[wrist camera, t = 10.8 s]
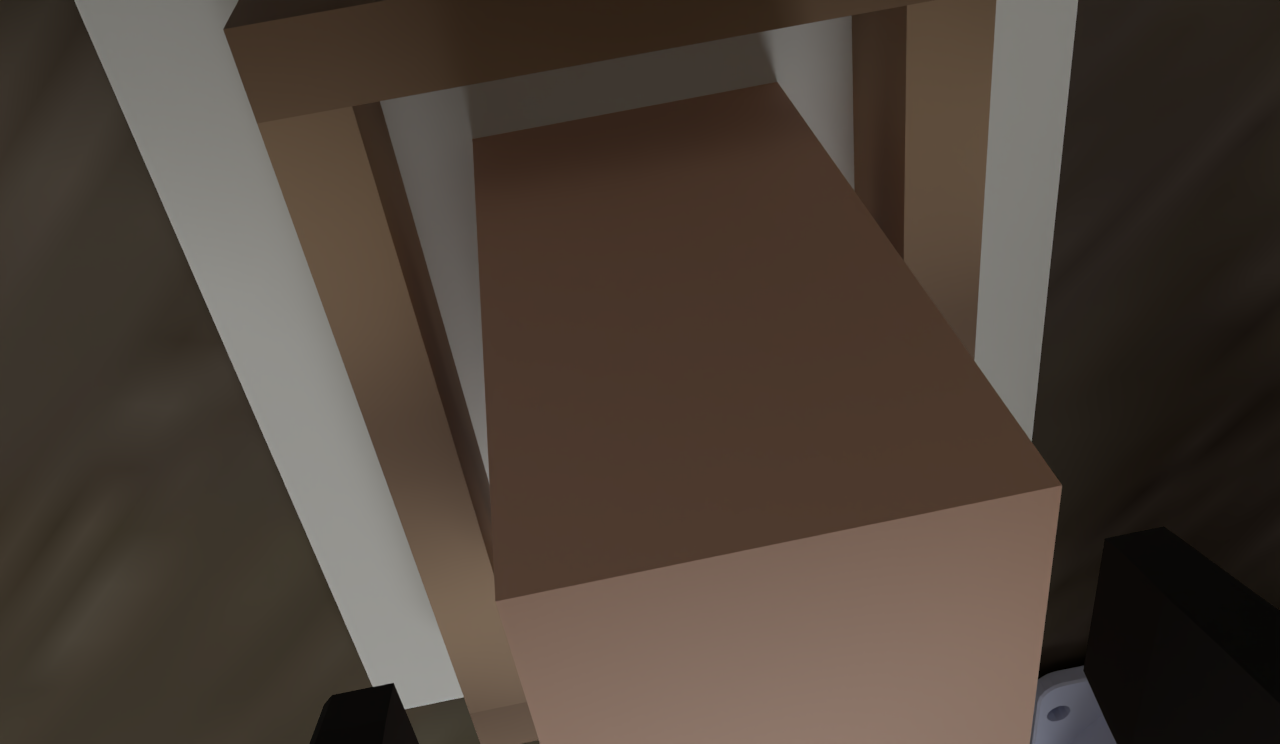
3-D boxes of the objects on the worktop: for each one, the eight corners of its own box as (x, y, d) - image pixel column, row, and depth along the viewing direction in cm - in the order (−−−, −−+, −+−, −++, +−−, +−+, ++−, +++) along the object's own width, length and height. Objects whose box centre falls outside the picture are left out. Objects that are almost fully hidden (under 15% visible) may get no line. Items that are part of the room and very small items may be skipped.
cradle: (994, 546, 21) (1066, 667, 19) (386, 670, 21) (379, 810, 18) (1065, -279, 13) (1207, -255, 11) (62, -107, 13) (-31, -39, 10)
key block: (777, 81, 14) (1062, 485, 8) (802, 482, 18) (1001, 968, 12) (471, 139, 14) (494, 600, 7) (567, 530, 18) (636, 1049, 11)
